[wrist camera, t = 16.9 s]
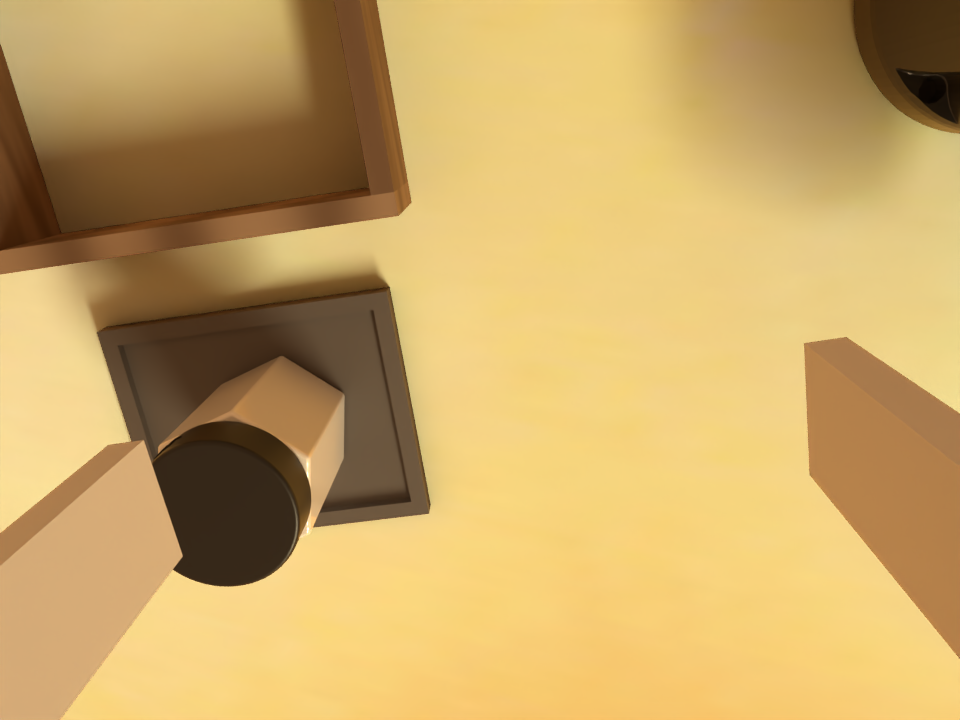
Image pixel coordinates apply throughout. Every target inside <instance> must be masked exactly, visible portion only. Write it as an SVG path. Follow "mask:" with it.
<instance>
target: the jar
mask: <svg viewBox="0 0 960 720" xmlns="http://www.w3.org/2000/svg"><path fill="white" fill-rule="evenodd" d="M344 402H345V396H344V394H343V393H342V392H341V391H339V390H338V389H336V388H334V387H333V386H331V385H329V384H328V383H326V382H325V381H323V380H321V379H320V378H318V377H316V376H315V375H313V374H312V373H310V372H308V371H307V370H305V369H303V368H302V367H300V366H299V365H297V364H295V363H294V362H292V361H290V360H289V359H287V358H286V357H284V356H279V357H277V358H275V359H273V360H271V361H269V362H267V363H265V364H263V365H261V366H258V367H256V368H254V369H252V370H250V371H248V372H246V373H244V374H242V375H240V376H238V377H236V378H234V379H232V380H229V381H227V382H225V383H223V384H221V385H220V386H219V387H218V388H217V389H216V390H215V391H214V392H213V393H212V394H211V395H210V396H209V397H208V398H207V399H206V400H205V401H204V402H203V403H202V404H201V405H200V406H199V407H198V408H197V409H196V410H195V411H194V412H193V413H192V414H191V415H189V416H188V417H187V418H186V419H185V420H184V421H183V422H182V423H181V424H180V425H179V426H178V427H177V428H176V429H175V430H174V431H173V432H172V433H171V434H170V435H169V436H168V437H167V438H166V439H165V440H164V441H163V442H162V443H161V444H160V445H159V447H158V454H157V455H156V457H155V458H154V459H153V460H154V461H153V462H152V466H153V469H154V472H155V475H156V478H157V481H158V484H159V487H160V490H161V493H162V496H163V499H164V502H165V505H166V508H167V511H168V514H169V516H170V519H171V522H172V525H173V528H174V531H175V534H176V537H177V540H178V543H179V546H180V549H181V552H182V555H183V557H182V558H181V559H180V561H179V562H178V563H177V565H176V566H175V567H174V569H173V570H174V571H176V572H178V573H179V574H181V575H183V576H185V577H187V578H189V579H192V580H194V581H197V582H200V583H204V584H208V585H214V586H240V585H246V584H250V583H253V582H256V581H259V580H261V579H264V578H266V577H267V576H269V575H271V574H272V573H274V572H275V571H276V570H278V569H279V568H280V567H281V566H282V565H283V564H284V563H285V562H286V561H287V559H288V558H289V557H290V555H291V554H292V552H293V550H294V548H295V546H296V544H297V542H298V540H299V539H300V538H302V537H304V536H306V535H308V534H310V532H311V530H312V528H313V526H314V523H315V521H316V519H317V517H318V514H319V512H320V510H321V508H322V506H323V503H324V501H325V499H326V497H327V494H328V492H329V490H330V488H331V485H332V483H333V481H334V479H335V477H336V474H337V472H338V470H339V468H340V465H341V463H342V461H343V459H344Z"/></svg>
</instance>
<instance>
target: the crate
mask: <svg viewBox="0 0 960 720" xmlns="http://www.w3.org/2000/svg"><path fill="white" fill-rule="evenodd" d="M334 3H335V8H336V13H337V19H338V24H339V29H340V35H341V40H342V45H343V51H344V56H345V61H346V66H347V72H348V77H349V82H350V88H351V93H352V98H353V103H354V109H355V114H356V119H357V125H358V130H359V135H360V140H361V146H362V151H363V156H364V162H365V167H366V172H367V178H368V183H369V188H363V189H356V190H349V191H343V192H336V193H329V194H323V195H316V196H309V197H303V198H296V199H289V200H283V201H276V202H269V203H263V204H256V205H249V206H243V207H236V208H229V209H223V210H216V211H209V212H203V213H196V214H189V215H183V216H176V217H170V218H163V219H156V220H150V221H143V222H136V223H130V224H123V225H116V226H110V227H103V228H96V229H90V230H83V231H76V232H70V233H63V234H61V232H60V229H59V226H58V223H57V220H56V217H55V213H54V210H53V207H52V204H51V201H50V198H49V195H48V192H47V188H46V185H45V182H44V179H43V176H42V173H41V170H40V167H39V163H38V160H37V157H36V154H35V151H34V148H33V145H32V141H31V138H30V135H29V132H28V129H27V126H26V123H25V120H24V116H23V113H22V110H21V107H20V104H19V101H18V98H17V95H16V91H15V88H14V85H13V82H12V79H11V76H10V73H9V70H8V66H7V63H6V60H5V57H4V54H3V51H2V48H1V45H0V274H6V273H13V272H19V271H26V270H33V269H40V268H47V267H53V266H60V265H67V264H74V263H81V262H87V261H94V260H101V259H108V258H115V257H121V256H128V255H135V254H142V253H149V252H155V251H162V250H169V249H176V248H183V247H189V246H196V245H203V244H210V243H217V242H223V241H230V240H237V239H244V238H251V237H257V236H264V235H271V234H278V233H285V232H291V231H298V230H305V229H312V228H319V227H325V226H332V225H339V224H346V223H353V222H359V221H366V220H373V219H380V218H387V217H393V216H399V215H400V214H401V213H402V212H403V211H404V210H405V208H406V207H407V206H408V205H409V204H410V203H411V197H410V192H409V186H408V180H407V174H406V169H405V163H404V157H403V151H402V145H401V140H400V134H399V128H398V122H397V117H396V111H395V105H394V99H393V93H392V88H391V82H390V76H389V70H388V65H387V59H386V53H385V47H384V41H383V36H382V30H381V24H380V18H379V13H378V7H377V1H376V0H334Z"/></svg>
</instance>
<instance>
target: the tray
mask: <svg viewBox="0 0 960 720" xmlns="http://www.w3.org/2000/svg"><path fill="white" fill-rule="evenodd" d="M97 334H98V337H99V340H100V343H101V346H102V350H103V353H104V356H105V359H106V362H107V365H108V368H109V372H110V375H111V378H112V381H113V384H114V387H115V390H116V394H117V397H118V400H119V403H120V406H121V409H122V412H123V416H124V419H125V422H126V425H127V428H128V431H129V434H130V438H131V441H132V442H133V441H140V440H144V442H145V445H146V448H147V451H148V454H149V457H150V460H151V463H152V462H153V461H154V460H153V459H154V458H155V457H156V455H157V454H158V447H159V445H160V444H161V443H162V442H163V441H164V440H165V439H166V438H167V437H168V436H169V435H170V434H171V433H172V432H173V431H174V430H175V429H176V428H177V427H178V426H179V425H180V424H181V423H182V422H183V421H184V420H185V419H186V418H187V417H188V416H189V415H191V414H192V413H193V412H194V411H195V410H196V409H197V408H198V407H199V406H200V405H201V404H202V403H203V402H204V401H205V400H206V399H207V398H208V397H209V396H210V395H211V394H212V393H213V392H214V391H215V390H216V389H217V388H218V387H219V386H220V385H221V384H223V383H225V382H227V381H229V380H232V379H234V378H236V377H238V376H240V375H242V374H244V373H246V372H248V371H250V370H252V369H254V368H256V367H258V366H261V365H263V364H265V363H267V362H269V361H271V360H273V359H275V358H277V357H279V356H284V357H286V358H287V359H289V360H290V361H292V362H294V363H295V364H297V365H299V366H300V367H302V368H303V369H305V370H307V371H308V372H310V373H312V374H313V375H315V376H316V377H318V378H320V379H321V380H323V381H325V382H326V383H328V384H329V385H331V386H333V387H334V388H336V389H338V390H339V391H341V392H342V393H343V394H344V396H345V402H344V459H343V461H342V463H341V465H340V468H339V470H338V472H337V474H336V477H335V479H334V481H333V483H332V485H331V488H330V490H329V492H328V494H327V497H326V499H325V501H324V503H323V506H322V508H321V510H320V512H319V514H318V517H317V519H316V521H315V523H314V526H313V527H321V526H329V525H338V524H346V523H354V522H363V521H371V520H380V519H388V518H396V517H405V516H413V515H421V514H429V510H430V505H431V504H430V499H429V494H428V488H427V483H426V478H425V473H424V467H423V462H422V457H421V451H420V446H419V441H418V435H417V430H416V425H415V420H414V414H413V409H412V404H411V398H410V393H409V388H408V382H407V377H406V372H405V366H404V361H403V356H402V351H401V345H400V340H399V335H398V329H397V324H396V319H395V313H394V308H393V303H392V297H391V292H390V287H387V288H380V289H372V290H365V291H358V292H351V293H344V294H337V295H330V296H323V297H316V298H308V299H301V300H294V301H287V302H280V303H273V304H266V305H259V306H252V307H244V308H237V309H230V310H223V311H216V312H209V313H202V314H195V315H188V316H180V317H173V318H166V319H159V320H152V321H145V322H138V323H131V324H124V325H116V326H109V327H106V328H104V329H102V330H100V331H98V332H97Z"/></svg>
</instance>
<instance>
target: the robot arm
mask: <svg viewBox="0 0 960 720" xmlns="http://www.w3.org/2000/svg"><path fill="white" fill-rule="evenodd" d="M854 20H855V30H856V36H857V41H858V45H859V49H860V53H861V55H862V58H863V61H864V64H865V66H866V68H867V70H868V72H869V74H870V76H871V78H872V80H873V81H874V83H875V84H876V86H877V87H878V89H879V90H880V91H881V92H882V94H883V95H884V96H885V97H886V98H887V99H888V100H889V101H890V102H891V103H892V104H893V105H894V106H895V107H896V108H897V109H898V110H900V111H901V112H902V113H904V114H905V115H907V116H908V117H910V118H912V119H913V120H915V121H917V122H919V123H921V124H923V125H926V126H929V127H931V128H934V129H938V130H941V131H946V132H951V133H959V134H960V0H854ZM804 352H805V376H806V400H807V424H808V448H809V472H810V476H811V477H812V478H813V479H814V481H815V482H816V483H817V484H818V486H819V487H820V488H821V489H822V491H823V492H824V493H825V494H826V495H827V497H828V498H829V499H830V500H831V502H832V503H833V504H834V505H835V506H836V508H837V509H838V510H839V511H840V513H841V514H842V515H843V516H844V517H845V519H846V520H847V521H848V522H849V524H850V525H851V526H852V527H853V529H854V530H855V531H856V532H857V533H858V535H859V536H860V537H861V538H862V540H863V541H864V542H865V543H866V544H867V546H868V547H869V548H870V549H871V551H872V552H873V553H874V554H875V555H876V557H877V558H878V559H879V560H880V562H881V563H882V564H883V565H884V566H885V568H886V569H887V570H888V571H889V573H890V574H891V575H892V576H893V578H894V579H895V580H896V581H897V582H898V584H899V585H900V586H901V587H902V589H903V590H904V591H905V592H906V593H907V595H908V596H909V597H910V598H911V600H912V601H913V602H914V603H915V604H916V606H917V607H918V608H919V609H920V611H921V612H922V613H923V614H924V615H925V617H926V618H927V619H928V620H929V622H930V623H931V624H932V625H933V627H934V628H935V629H936V630H937V631H938V633H939V634H940V635H941V636H942V638H943V639H944V640H945V641H946V642H947V644H948V645H949V646H950V647H951V649H952V650H953V651H954V652H955V653H956V655H957V656H958V657H959V658H960V413H958V412H957V411H955V410H954V409H952V408H951V407H949V406H948V405H946V404H945V403H943V402H942V401H940V400H939V399H937V398H936V397H934V396H933V395H931V394H930V393H928V392H927V391H925V390H924V389H922V388H921V387H919V386H918V385H917V384H915V383H914V382H912V381H911V380H909V379H908V378H906V377H905V376H903V375H902V374H900V373H899V372H897V371H896V370H894V369H893V368H891V367H890V366H888V365H887V364H885V363H884V362H882V361H881V360H879V359H878V358H876V357H875V356H874V355H872V354H871V353H869V352H868V351H866V350H865V349H863V348H862V347H860V346H859V345H857V344H856V343H854V342H853V341H851V340H850V339H848V338H847V337H844V338H837V339H830V340H824V341H817V342H810V343H804ZM182 557H183V555H182V552H181V549H180V546H179V543H178V540H177V537H176V534H175V531H174V528H173V525H172V522H171V519H170V516H169V514H168V511H167V508H166V505H165V502H164V499H163V496H162V493H161V490H160V487H159V484H158V481H157V478H156V475H155V472H154V469H153V466H152V463H151V460H150V457H149V454H148V451H147V448H146V445H145V442H144V440H140V441H133V442H126V443H119V444H112V445H108V446H107V447H105V448H104V449H103V450H102V451H101V452H99V453H98V454H97V455H96V456H94V457H93V458H92V459H91V460H90V461H88V462H87V463H86V464H85V465H83V466H82V467H81V468H80V469H78V470H77V471H76V472H75V473H74V474H72V475H71V476H70V477H69V478H67V479H66V480H65V481H64V482H63V483H61V484H60V485H59V486H58V487H56V488H55V489H54V490H53V491H51V492H50V493H49V494H48V495H47V496H45V497H44V498H43V499H42V500H40V501H39V502H38V503H37V504H36V505H34V506H33V507H32V508H31V509H29V510H28V511H27V512H26V513H24V514H23V515H22V516H21V517H20V518H18V519H17V520H16V521H15V522H13V523H12V524H11V525H10V526H9V527H7V528H6V529H5V530H4V531H2V532H1V533H0V720H60V719H61V718H62V717H63V715H64V714H65V713H66V711H67V710H68V709H69V707H70V706H71V705H72V703H73V702H74V701H75V699H76V698H77V697H78V695H79V694H80V693H81V691H82V690H83V689H84V687H85V686H86V685H87V683H88V682H89V681H90V679H91V678H92V677H93V675H94V674H95V673H96V671H97V670H98V669H99V667H100V666H101V665H102V663H103V662H104V661H105V659H106V658H107V657H108V655H109V654H110V653H111V651H112V650H113V649H114V647H115V646H116V645H117V643H118V642H119V641H120V639H121V638H122V637H123V635H124V634H125V633H126V631H127V630H128V629H129V627H130V626H131V625H132V623H133V622H134V621H135V619H136V618H137V617H138V615H139V614H140V613H141V611H142V610H143V609H144V607H145V606H146V605H147V603H148V602H149V601H150V599H151V598H152V597H153V595H154V594H155V593H156V591H157V590H158V589H159V587H160V586H161V585H162V583H163V582H164V581H165V579H166V578H167V577H168V575H169V574H170V573H171V571H172V570H173V569H174V567H175V566H176V565H177V563H178V562H179V561H180V559H181V558H182Z"/></svg>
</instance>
